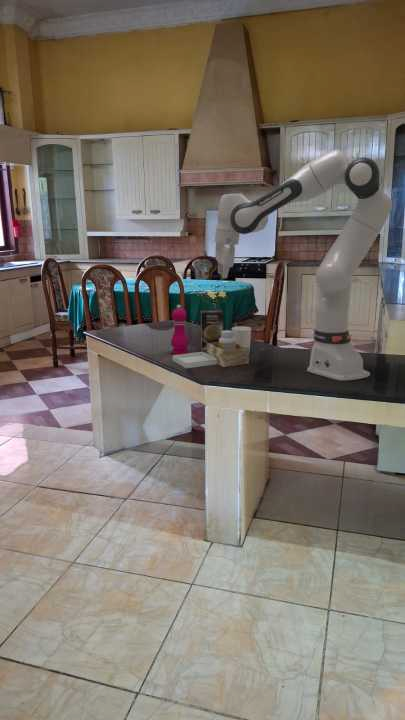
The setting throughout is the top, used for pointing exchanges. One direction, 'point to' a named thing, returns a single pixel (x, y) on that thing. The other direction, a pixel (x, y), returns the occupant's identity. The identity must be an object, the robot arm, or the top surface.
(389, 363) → the top surface
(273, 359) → the top surface
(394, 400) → the top surface
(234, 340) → the pill bottle
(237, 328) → the white cup
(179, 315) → the pepper mill
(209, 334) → the coffee box
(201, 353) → the sage tray
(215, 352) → the beech box
